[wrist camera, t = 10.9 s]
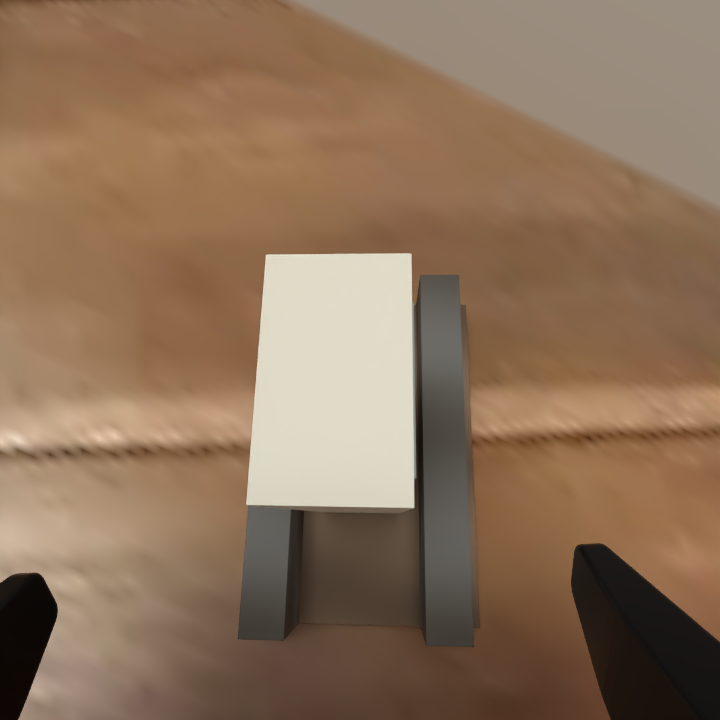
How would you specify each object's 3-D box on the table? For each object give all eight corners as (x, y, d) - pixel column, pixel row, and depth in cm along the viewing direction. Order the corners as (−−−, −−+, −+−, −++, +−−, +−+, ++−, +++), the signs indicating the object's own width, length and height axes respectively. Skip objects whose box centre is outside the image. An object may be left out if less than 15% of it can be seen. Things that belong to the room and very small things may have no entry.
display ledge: (473, 620, 21) (496, 647, 16) (250, 614, 21) (216, 638, 17) (461, 317, 24) (476, 274, 20) (272, 317, 25) (249, 275, 21)
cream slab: (401, 513, 21) (420, 507, 9) (321, 512, 21) (241, 505, 9) (400, 391, 22) (416, 253, 11) (325, 390, 22) (261, 254, 11)
